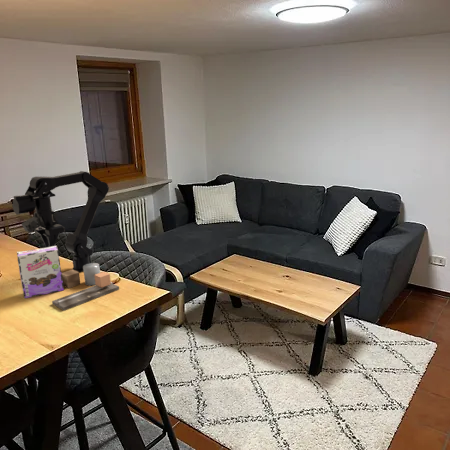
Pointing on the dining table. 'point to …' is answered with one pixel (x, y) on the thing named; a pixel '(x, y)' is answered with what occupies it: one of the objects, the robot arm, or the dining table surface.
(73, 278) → the walnut block
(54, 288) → the candy box
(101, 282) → the peach cube
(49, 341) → the dining table surface
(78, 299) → the board
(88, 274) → the grey rounded cylinder
